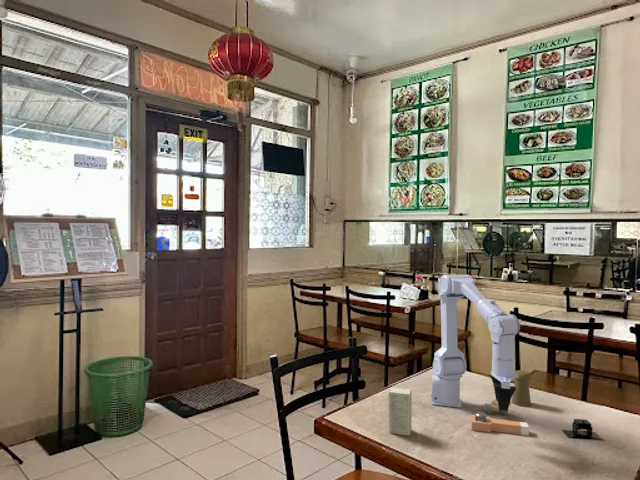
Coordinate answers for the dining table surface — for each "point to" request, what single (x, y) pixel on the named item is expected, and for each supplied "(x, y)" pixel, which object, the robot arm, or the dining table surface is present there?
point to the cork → (521, 389)
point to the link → (499, 426)
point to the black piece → (578, 434)
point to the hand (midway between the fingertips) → (501, 405)
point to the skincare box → (400, 411)
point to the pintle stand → (489, 411)
